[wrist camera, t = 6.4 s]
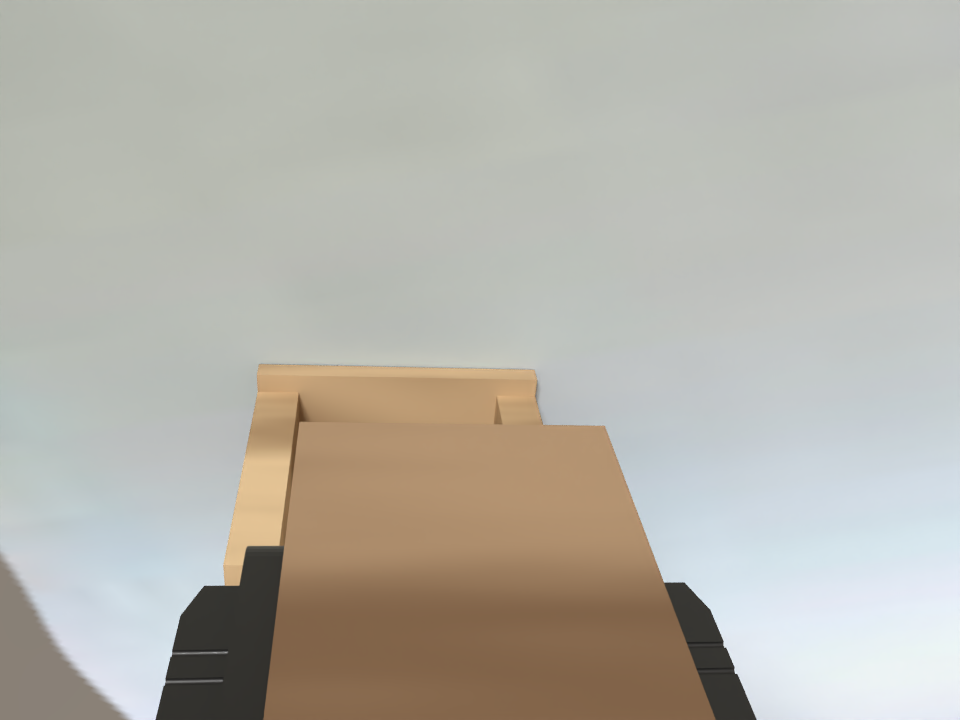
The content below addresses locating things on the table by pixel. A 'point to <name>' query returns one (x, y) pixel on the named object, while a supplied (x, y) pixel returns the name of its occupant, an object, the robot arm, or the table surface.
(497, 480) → the light brown wooden block
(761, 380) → the table surface
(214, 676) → the robot arm
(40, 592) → the table surface
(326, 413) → the wooden chair
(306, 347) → the table surface
